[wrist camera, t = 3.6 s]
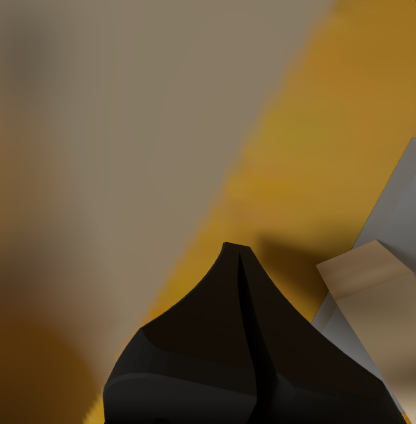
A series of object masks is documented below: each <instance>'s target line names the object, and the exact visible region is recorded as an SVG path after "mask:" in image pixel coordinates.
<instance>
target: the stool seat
mask: <svg viewBox="0 0 416 424" xmlns="http://www.w3.org/2000/svg"><path fill="white" fill-rule="evenodd" d="M374 240H377V241H378V242H379V243H380V244H381V245H382V246H384V247H385V248H386V249H387V250H388V251H389V252H390V253H392V254H393V255H394V256H395V257H396V258H397V259H399V260H400V261H401V262H402V263H403V264H404V265H405V266H407V267H408V268H409V269H410V270H411V271H412V272H414V274H415V277H416V137H413V138H412V140H411V141H410V143H409V145H408V147H407V149H406V151H405V152H404V154H403V156H402V158H401V160H400V162H399V163H398V165H397V167H396V169H395V171H394V173H393V174H392V176H391V178H390V180H389V182H388V184H387V185H386V187H385V189H384V191H383V193H382V195H381V196H380V198H379V200H378V202H377V204H376V205H375V207H374V209H373V211H372V213H371V215H370V216H369V218H368V220H367V222H366V224H365V226H364V227H363V229H362V231H361V233H360V235H359V237H358V238H357V240H356V242H355V244H354V246H353V248H352V249H351V250H353V249H355V248H357V247H360V246H362V245H364V244H367V243H369V242H371V241H374ZM311 325H313V326H314V327H315V328H316V329H317V330H318V331H319V332H320V333H321V334H322V335H324V336H325V337H326V338H327V339H328V340H329V341H331V342H332V343H333V344H334V345H336V346H337V347H338V348H339V349H340V350H342V351H343V352H344V353H345V354H347V355H348V356H349V357H351V358H352V359H353V360H355V361H356V362H357V363H359V364H360V365H361V366H363V367H364V368H365V369H367V370H368V371H369V372H371V373H372V374H373V375H375V376H376V377H377V378H379V379H380V380H382V381H383V383H384V385H385V386H386V388H387V389H388V391H389V393H390V395H391V397H392V398H393V400H394V402H395V404H396V405H397V407H398V409H399V411H400V412H401V413H405V411H404V410H403V408H402V407H401V405H400V403H399V402H398V400H397V399H396V397H395V396H394V394H393V392H392V391H391V389H390V388H389V386H388V384H387V383H386V381H385V380H384V378H383V377H382V375H381V373H380V372H379V370H378V369H377V367H376V365H375V364H374V362H373V361H372V359H371V357H370V356H369V354H368V353H367V351H366V350H365V348H364V346H363V345H362V343H361V342H360V340H359V338H358V337H357V335H356V334H355V332H354V330H353V329H352V327H351V326H350V324H349V323H348V321H347V319H346V318H345V316H344V315H343V313H342V311H341V310H340V308H339V307H338V305H337V303H336V302H335V300H334V298H333V297H332V295H331V293H330V291H329V292H328V293H327V295H326V297H325V299H324V301H323V303H322V304H321V306H320V308H319V310H318V312H317V314H316V315H315V317H314V319H313V321H312V323H311ZM405 414H406V413H405Z"/></svg>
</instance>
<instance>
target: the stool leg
mask: <svg viewBox="0 0 416 424" xmlns="http://www.w3.org/2000/svg"><path fill="white" fill-rule="evenodd" d="M316 267H317V269H318V271H319V273H320V275H321V276H322V278H323V280H324V282H325V284H326V286H327V287H328V289H329V291H330V293H331V295H332V297H333V298H334V300H335V302H336V303H337V305H338V307H339V308H340V310H341V311H342V313H343V315H344V316H345V318H346V319H347V321H348V323H349V324H350V326H351V327H352V329H353V330H354V332H355V334H356V335H357V337H358V338H359V340H360V342H361V343H362V345H363V346H364V348H365V350H366V351H367V353H368V354H369V356H370V357H371V359H372V361H373V362H374V364H375V365H376V367H377V369H378V370H379V372H380V373H381V375H382V377H383V378H384V380H385V381H386V383H387V384H388V386H389V388H390V389H391V391H392V392H393V394H394V396H395V397H396V399H397V400H398V402H399V403H400V405H401V407H402V408H403V410H404V411H405V413H406V415H407V416H408V418H409V419H410V421H411V423H412V424H416V277H415V274H414V272H412V271H411V270H410V269H409V268H408V267H407V266H405V265H404V264H403V263H402V262H401V261H400V260H399V259H397V258H396V257H395V256H394V255H393V254H392V253H390V252H389V251H388V250H387V249H386V248H385V247H384V246H382V245H381V244H380V243H379V242H378V241H377V240H374V241H371V242H369V243H367V244H364V245H362V246H360V247H357V248H355V249H353V250H350V251H348V252H346V253H343V254H341V255H338V256H336V257H334V258H331V259H329V260H327V261H324V262H322V263H320V264H317V265H316Z"/></svg>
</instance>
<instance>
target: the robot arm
mask: <svg viewBox="0 0 416 424" xmlns="http://www.w3.org/2000/svg"><path fill="white" fill-rule="evenodd" d="M103 404H104V417H105V423H104V424H407V423H406V421H405V420H404V418H403V416H402V414H401V413H400V411H399V409H398V407H397V405H396V404H395V402H394V400H393V398H392V397H391V395H390V393H389V391H388V389H387V388H386V386H385V385H384V383H383V381H382V380H380V379H379V378H377V377H376V376H375V375H373V374H372V373H371V372H369V371H368V370H367V369H365V368H364V367H363V366H361V365H360V364H359V363H357V362H356V361H355V360H353V359H352V358H351V357H349V356H348V355H347V354H345V353H344V352H343V351H342V350H340V349H339V348H338V347H337V346H336V345H334V344H333V343H332V342H331V341H329V340H328V339H327V338H326V337H325V336H324V335H322V334H321V333H320V332H319V331H318V330H317V329H316V328H315V327H314V326H313V325H311V324H310V323H309V322H308V321H307V320H306V319H305V318H304V317H303V316H302V315H301V314H300V313H299V312H298V311H297V310H296V309H295V308H294V307H293V306H292V304H291V303H290V302H289V301H288V300H287V299H286V298H285V297H284V296H283V294H282V293H281V292H280V291H279V290H278V288H277V287H276V286H275V284H274V283H273V282H272V280H271V279H270V278H269V276H268V275H267V273H266V272H265V270H264V269H263V267H262V266H261V264H260V263H259V261H258V259H257V258H256V256H255V254H254V253H253V251H252V250H251V248H250V247H248V246H243V245H238V244H233V243H229V242H225V243H223V246H222V250H221V252H220V254H219V256H218V258H217V260H216V261H215V263H214V264H213V266H212V267H211V269H210V270H209V271H208V273H207V274H206V275H205V276H204V278H203V279H202V280H201V281H200V282H199V283H198V284H197V285H196V286H195V287H194V288H193V289H192V290H191V291H190V292H189V293H188V294H187V295H186V296H185V297H184V298H183V299H181V300H180V301H179V302H178V303H176V304H175V305H174V306H172V307H171V308H170V309H168V310H167V311H166V312H164V313H163V314H162V315H160V316H158V317H157V318H155V319H154V320H152V321H151V322H149V323H147V324H146V325H144V326H143V327H141V328H140V329H139V330H138V331H137V333H136V334H135V335H134V337H133V338H132V339H131V341H130V342H129V343H128V345H127V346H126V348H125V349H124V351H123V352H122V354H121V356H120V357H119V359H118V361H117V362H116V364H115V366H114V368H113V370H112V372H111V374H110V376H109V378H108V380H107V383H106V385H105V387H104V391H103Z"/></svg>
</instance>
